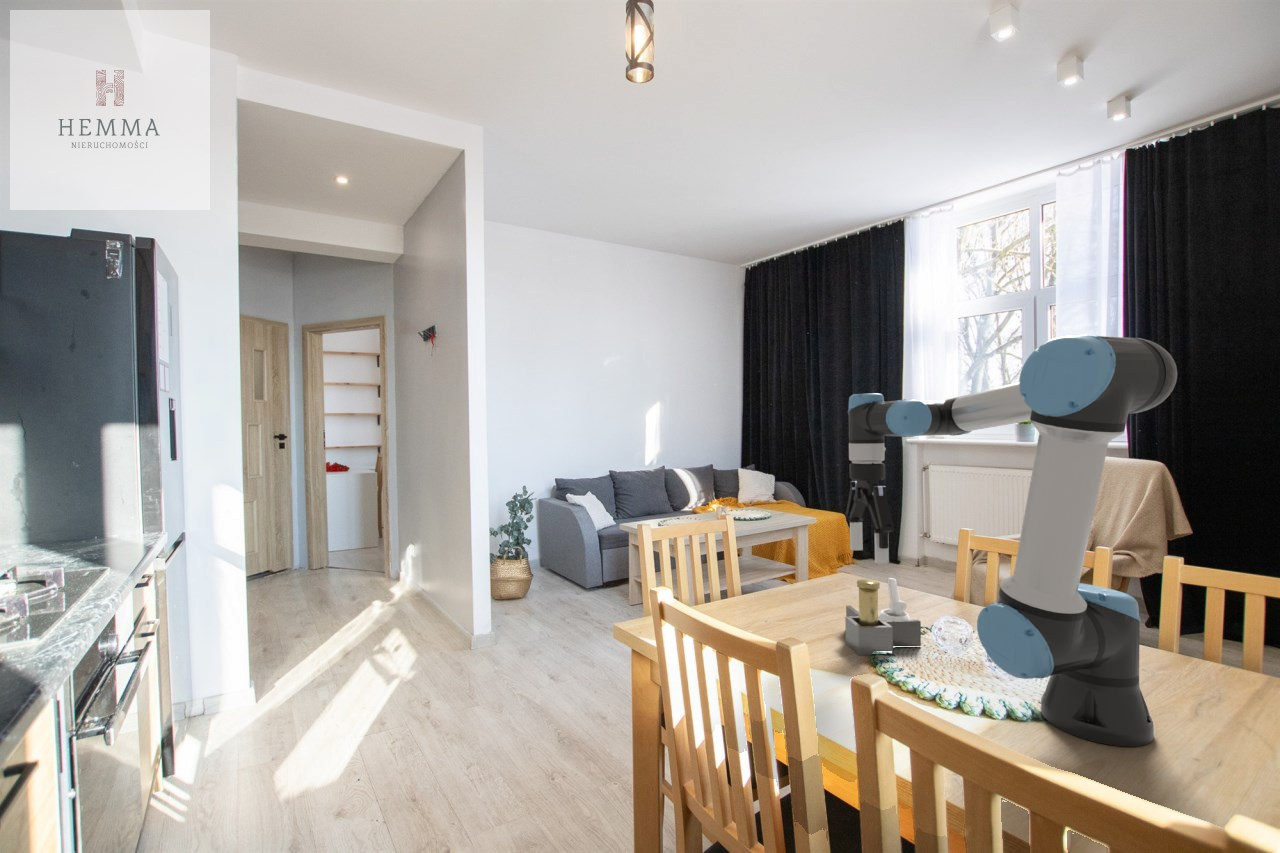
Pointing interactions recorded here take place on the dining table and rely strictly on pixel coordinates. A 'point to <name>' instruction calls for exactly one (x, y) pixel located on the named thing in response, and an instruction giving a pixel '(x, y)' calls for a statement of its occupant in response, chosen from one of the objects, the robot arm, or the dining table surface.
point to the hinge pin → (868, 602)
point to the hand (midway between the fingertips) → (868, 556)
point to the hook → (894, 604)
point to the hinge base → (880, 634)
